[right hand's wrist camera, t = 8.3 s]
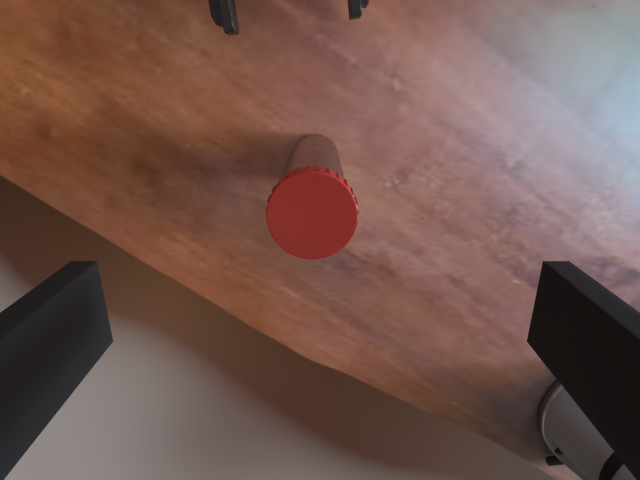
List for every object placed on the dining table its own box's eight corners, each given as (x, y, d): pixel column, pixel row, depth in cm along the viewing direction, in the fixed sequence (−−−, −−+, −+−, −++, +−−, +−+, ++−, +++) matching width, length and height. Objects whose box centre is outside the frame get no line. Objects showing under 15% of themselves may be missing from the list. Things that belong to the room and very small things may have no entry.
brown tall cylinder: (309, 124, 38) (301, 159, 21) (347, 151, 39) (367, 205, 22) (284, 162, 39) (257, 224, 22) (321, 188, 40) (322, 265, 23)
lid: (300, 146, 22) (299, 150, 21) (374, 197, 23) (378, 206, 22) (251, 218, 24) (247, 228, 22) (323, 264, 25) (323, 276, 23)
